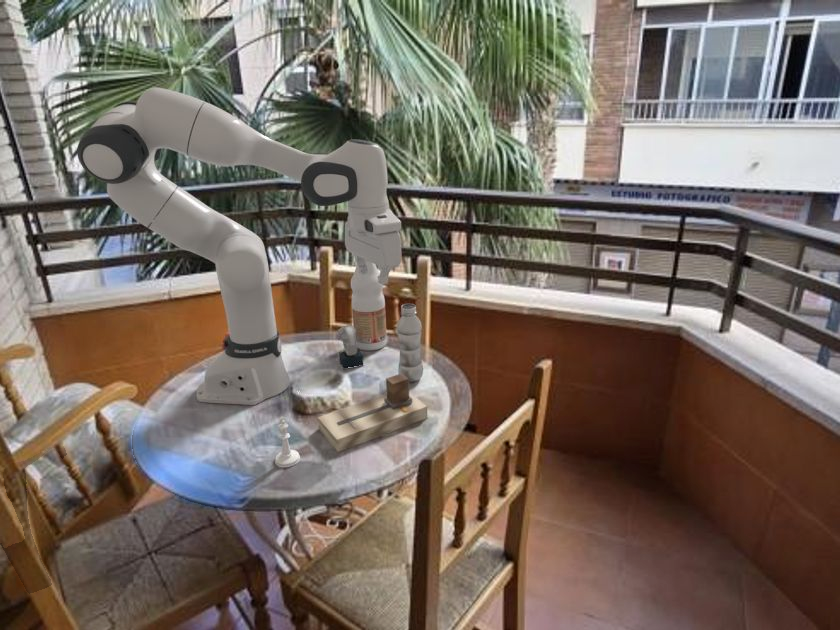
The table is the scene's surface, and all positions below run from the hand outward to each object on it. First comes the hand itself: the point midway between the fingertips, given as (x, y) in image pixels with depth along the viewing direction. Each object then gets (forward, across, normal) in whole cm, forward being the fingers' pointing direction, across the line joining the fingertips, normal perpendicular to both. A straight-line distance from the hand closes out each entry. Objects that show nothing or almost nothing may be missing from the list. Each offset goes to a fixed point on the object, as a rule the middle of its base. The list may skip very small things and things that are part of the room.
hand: (372, 278), depth 122 cm
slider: (+26, +12, -2) cm, 29 cm away
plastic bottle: (+29, 0, +9) cm, 31 cm away
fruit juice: (+29, -25, +11) cm, 40 cm away
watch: (+29, -17, +1) cm, 34 cm away
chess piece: (+29, +13, -29) cm, 43 cm away
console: (+29, +12, -8) cm, 33 cm away
